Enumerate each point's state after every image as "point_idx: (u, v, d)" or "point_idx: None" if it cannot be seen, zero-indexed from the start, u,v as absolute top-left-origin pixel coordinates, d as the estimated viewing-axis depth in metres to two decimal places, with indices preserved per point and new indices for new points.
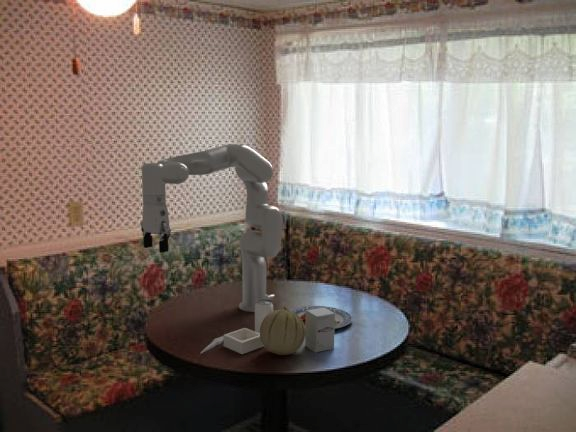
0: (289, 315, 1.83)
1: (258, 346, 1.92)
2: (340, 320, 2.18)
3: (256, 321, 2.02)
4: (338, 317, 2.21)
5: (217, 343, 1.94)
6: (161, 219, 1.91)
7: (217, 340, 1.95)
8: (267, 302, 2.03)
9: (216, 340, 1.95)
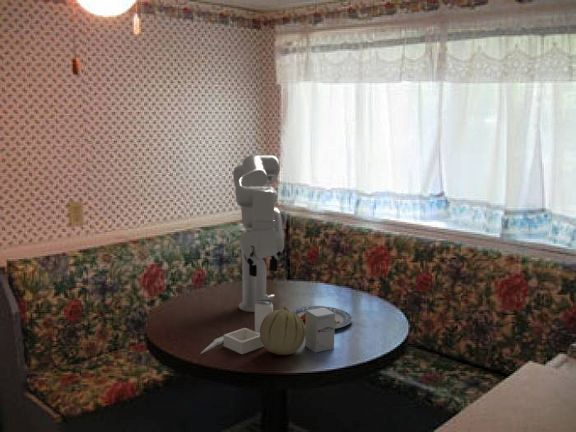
0: (289, 315, 1.83)
1: (258, 346, 1.92)
2: (340, 320, 2.18)
3: (256, 321, 2.02)
4: (338, 317, 2.21)
5: (217, 343, 1.94)
6: None
7: (217, 340, 1.95)
8: (267, 302, 2.03)
9: (216, 340, 1.95)
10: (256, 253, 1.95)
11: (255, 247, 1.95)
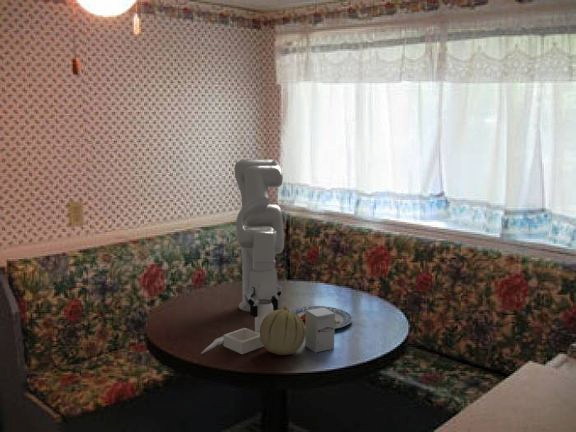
0: (289, 315, 1.83)
1: (258, 346, 1.92)
2: (340, 320, 2.18)
3: (256, 321, 2.02)
4: (338, 317, 2.21)
5: (218, 343, 1.94)
6: None
7: (218, 340, 1.95)
8: (267, 302, 2.03)
9: (217, 340, 1.95)
10: (257, 294, 1.97)
11: (256, 288, 1.97)
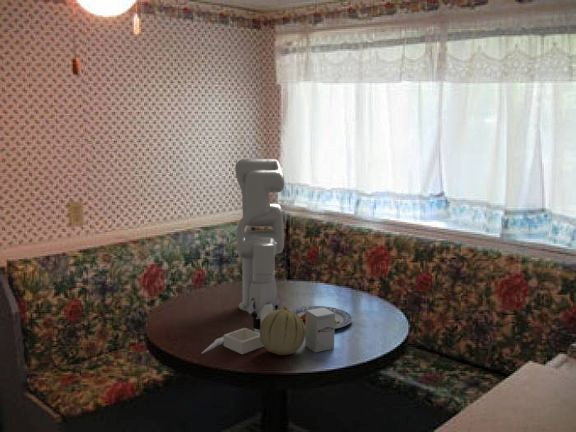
0: (289, 315, 1.83)
1: (258, 346, 1.92)
2: (340, 320, 2.18)
3: None
4: (338, 317, 2.21)
5: (218, 343, 1.94)
6: None
7: (218, 340, 1.95)
8: None
9: (217, 340, 1.95)
10: (257, 306, 1.98)
11: (256, 300, 1.98)
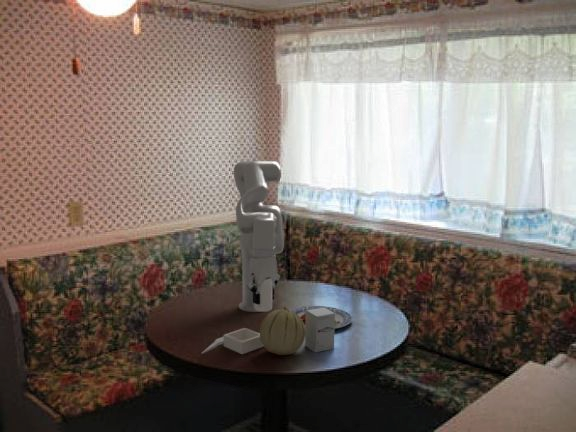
0: (289, 315, 1.83)
1: (258, 346, 1.92)
2: (340, 320, 2.18)
3: None
4: (338, 317, 2.21)
5: (218, 343, 1.94)
6: None
7: (218, 340, 1.95)
8: None
9: (217, 340, 1.95)
10: (256, 280, 1.98)
11: (255, 275, 1.97)
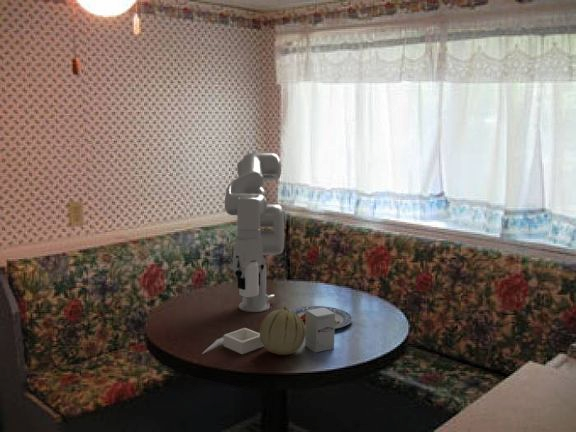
0: (289, 315, 1.83)
1: (258, 346, 1.92)
2: (340, 320, 2.18)
3: None
4: (338, 317, 2.21)
5: (219, 344, 1.94)
6: None
7: (219, 341, 1.95)
8: None
9: (218, 341, 1.95)
10: (241, 263, 1.87)
11: (240, 257, 1.87)
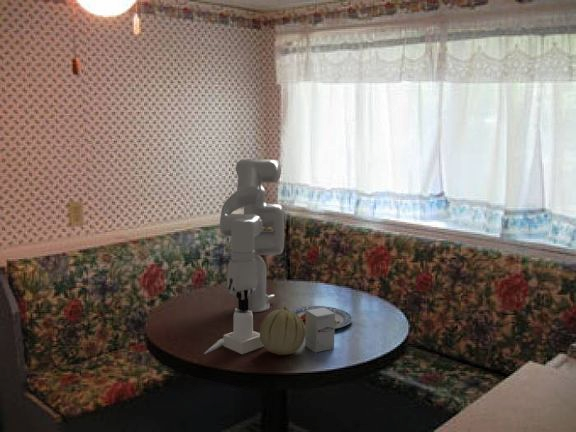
0: (289, 315, 1.83)
1: (258, 346, 1.92)
2: (340, 320, 2.18)
3: (235, 331, 1.91)
4: (338, 317, 2.21)
5: (221, 344, 1.94)
6: None
7: (221, 341, 1.94)
8: None
9: (220, 341, 1.94)
10: (235, 286, 1.85)
11: (234, 280, 1.85)
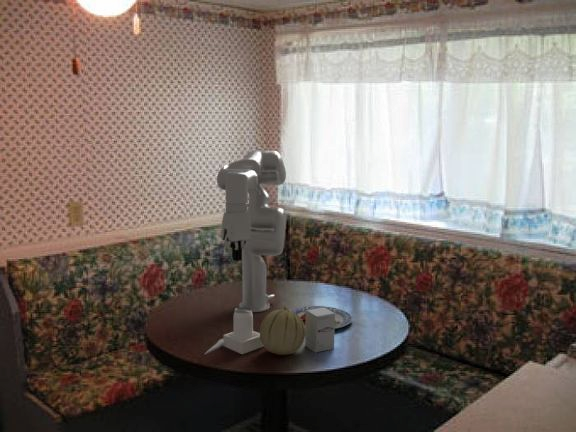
0: (289, 315, 1.83)
1: (258, 346, 1.92)
2: (340, 320, 2.18)
3: (235, 331, 1.91)
4: (338, 317, 2.21)
5: (222, 344, 1.94)
6: None
7: (222, 341, 1.94)
8: (246, 310, 1.92)
9: (221, 341, 1.94)
10: (229, 236, 1.94)
11: (228, 230, 1.93)
